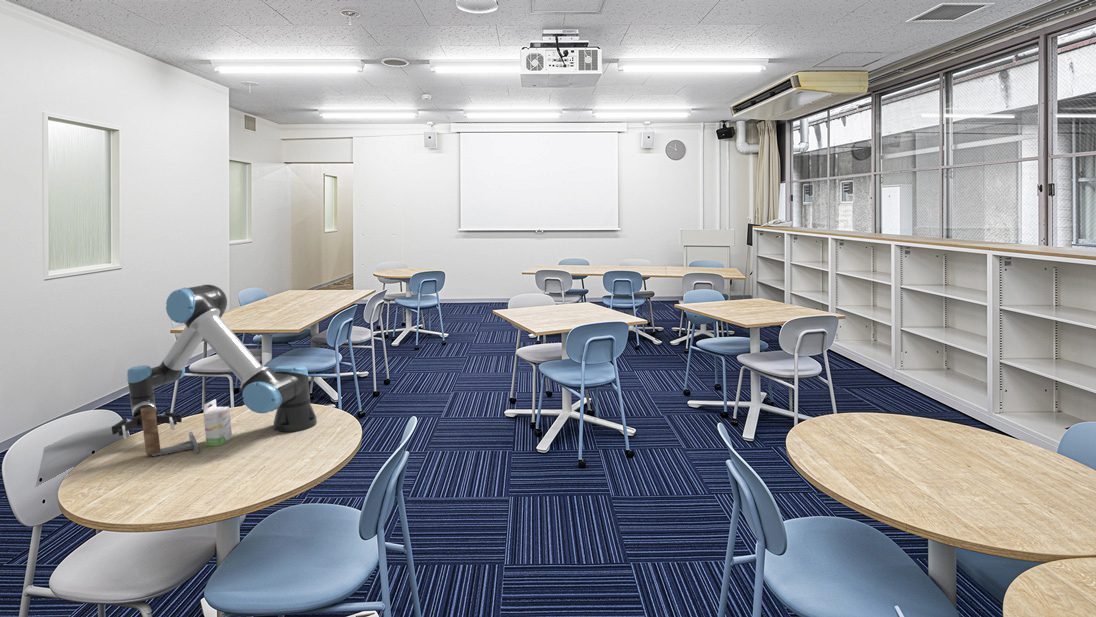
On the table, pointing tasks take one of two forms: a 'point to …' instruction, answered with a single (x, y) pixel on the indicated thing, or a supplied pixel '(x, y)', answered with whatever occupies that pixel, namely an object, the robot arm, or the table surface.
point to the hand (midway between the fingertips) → (149, 430)
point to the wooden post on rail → (153, 437)
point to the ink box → (217, 424)
